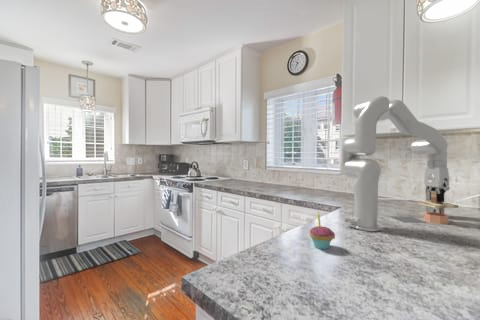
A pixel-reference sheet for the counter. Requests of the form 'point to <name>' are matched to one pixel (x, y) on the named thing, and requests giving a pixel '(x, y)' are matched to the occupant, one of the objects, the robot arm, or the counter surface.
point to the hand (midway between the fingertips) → (436, 200)
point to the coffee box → (432, 209)
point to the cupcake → (321, 236)
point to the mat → (408, 219)
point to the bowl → (436, 217)
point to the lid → (436, 202)
